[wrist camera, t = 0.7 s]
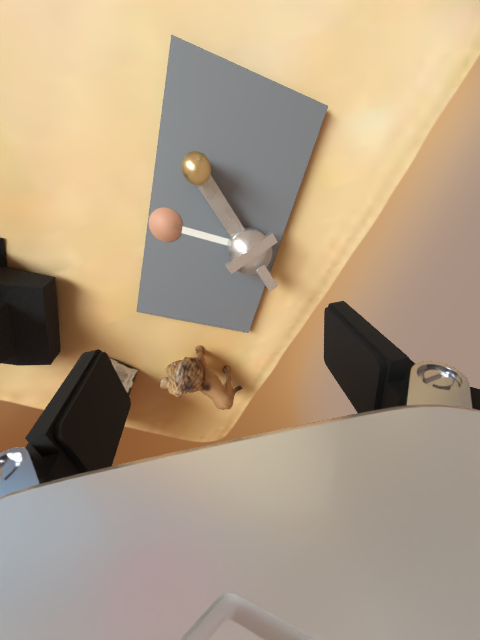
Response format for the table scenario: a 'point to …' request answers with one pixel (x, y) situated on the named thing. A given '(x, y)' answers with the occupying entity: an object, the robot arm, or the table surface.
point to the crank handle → (232, 224)
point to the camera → (27, 316)
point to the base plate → (220, 183)
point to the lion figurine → (198, 380)
